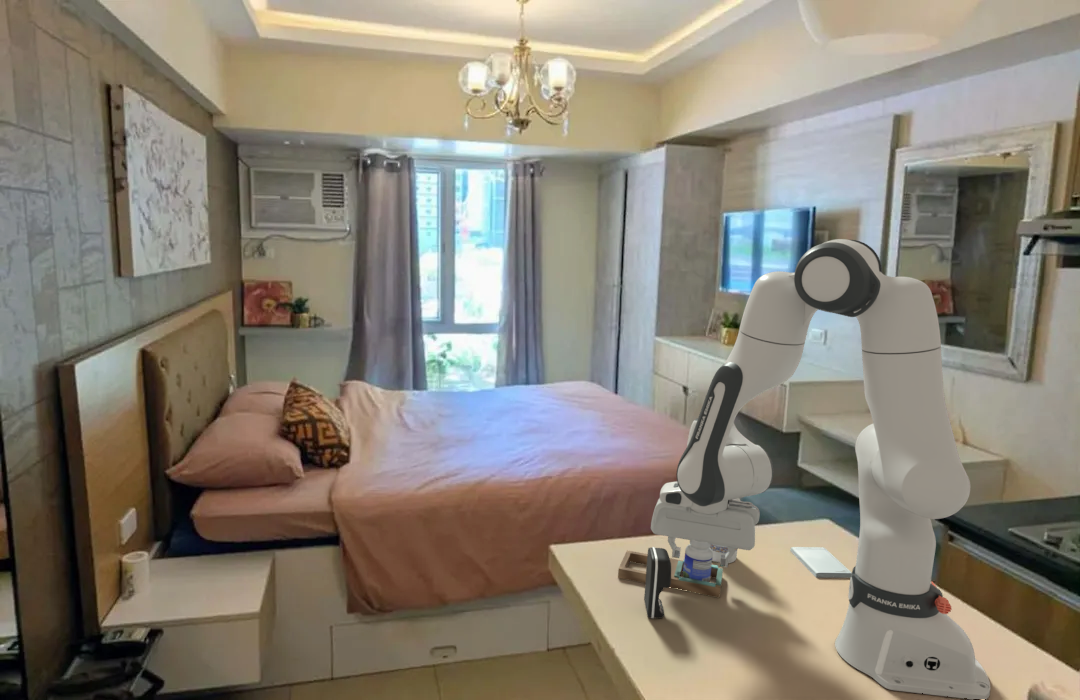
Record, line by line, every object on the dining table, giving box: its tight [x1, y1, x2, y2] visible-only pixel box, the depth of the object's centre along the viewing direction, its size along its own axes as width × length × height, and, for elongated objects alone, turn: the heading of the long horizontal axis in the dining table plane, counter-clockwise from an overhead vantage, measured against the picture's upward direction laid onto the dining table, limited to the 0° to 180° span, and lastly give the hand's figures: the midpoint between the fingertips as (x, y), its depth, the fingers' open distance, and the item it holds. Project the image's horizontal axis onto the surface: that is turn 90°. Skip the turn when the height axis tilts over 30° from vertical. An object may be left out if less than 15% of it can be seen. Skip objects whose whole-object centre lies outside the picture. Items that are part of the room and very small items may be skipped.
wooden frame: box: [617, 549, 724, 599], centre depth 139 cm, size 20×9×2 cm, turn 72°
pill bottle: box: [682, 540, 713, 582], centre depth 136 cm, size 5×5×10 cm
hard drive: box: [789, 546, 852, 579], centre depth 148 cm, size 2×8×12 cm
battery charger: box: [643, 546, 671, 619], centre depth 125 cm, size 7×4×11 cm, turn 177°
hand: (699, 561), depth 137 cm, fingers open, 8 cm apart
